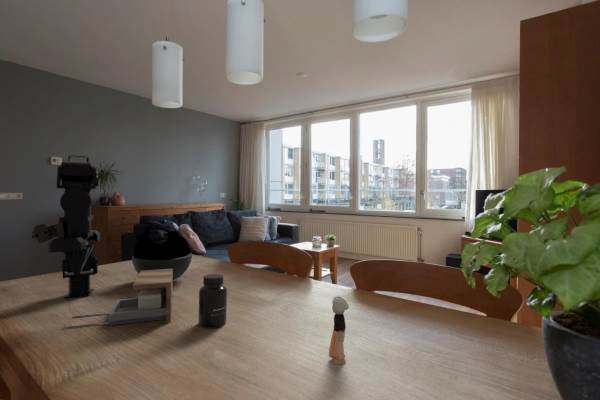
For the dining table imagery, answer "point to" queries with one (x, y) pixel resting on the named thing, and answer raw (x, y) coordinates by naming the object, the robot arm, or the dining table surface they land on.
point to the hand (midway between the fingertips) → (77, 274)
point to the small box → (150, 299)
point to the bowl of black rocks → (162, 254)
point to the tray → (134, 312)
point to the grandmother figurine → (338, 330)
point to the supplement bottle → (212, 302)
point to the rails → (88, 324)
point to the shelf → (157, 285)
